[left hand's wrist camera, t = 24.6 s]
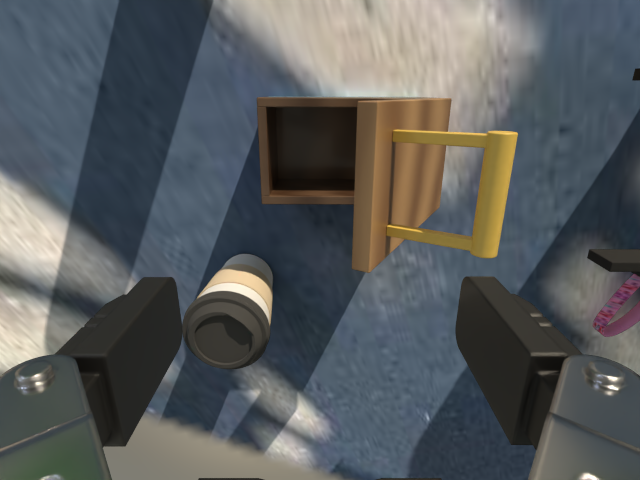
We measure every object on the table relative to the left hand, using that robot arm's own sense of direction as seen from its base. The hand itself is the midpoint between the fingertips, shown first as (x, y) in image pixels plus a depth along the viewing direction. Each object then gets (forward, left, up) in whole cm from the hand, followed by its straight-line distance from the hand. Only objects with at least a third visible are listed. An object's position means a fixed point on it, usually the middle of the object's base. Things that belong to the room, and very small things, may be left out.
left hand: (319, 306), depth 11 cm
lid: (-5, +4, -21) cm, 22 cm away
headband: (-16, +44, -38) cm, 60 cm away
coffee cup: (+19, +6, -38) cm, 43 cm away
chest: (-2, +2, -38) cm, 38 cm away
